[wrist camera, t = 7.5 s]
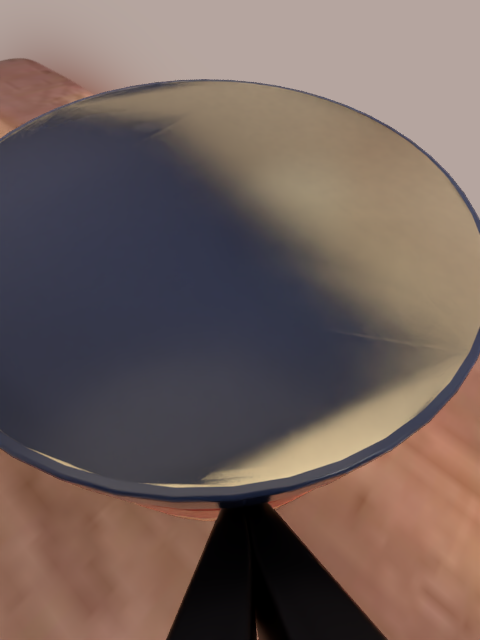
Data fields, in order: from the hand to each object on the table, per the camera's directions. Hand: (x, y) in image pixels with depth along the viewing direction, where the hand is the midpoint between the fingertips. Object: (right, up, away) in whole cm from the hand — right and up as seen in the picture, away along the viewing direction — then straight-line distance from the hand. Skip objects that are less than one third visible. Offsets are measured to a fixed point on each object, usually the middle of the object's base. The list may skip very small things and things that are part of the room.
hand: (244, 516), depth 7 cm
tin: (-1, +2, +10) cm, 10 cm away
